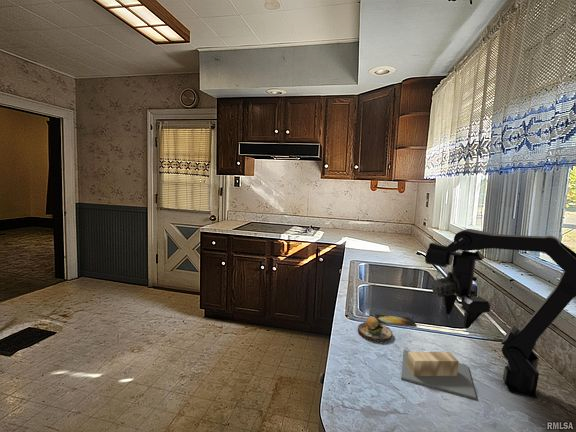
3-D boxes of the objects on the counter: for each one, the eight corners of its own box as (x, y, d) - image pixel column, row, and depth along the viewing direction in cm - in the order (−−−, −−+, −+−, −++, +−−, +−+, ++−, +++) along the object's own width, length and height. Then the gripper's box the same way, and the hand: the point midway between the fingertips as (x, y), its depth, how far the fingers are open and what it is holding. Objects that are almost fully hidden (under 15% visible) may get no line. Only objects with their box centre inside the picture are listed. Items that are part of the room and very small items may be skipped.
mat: (467, 366, 93) (467, 364, 93) (475, 399, 79) (476, 397, 79) (403, 351, 100) (403, 349, 100) (401, 379, 86) (401, 377, 86)
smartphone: (417, 326, 117) (376, 322, 118) (417, 328, 117) (376, 324, 118) (411, 317, 124) (373, 314, 125) (411, 319, 124) (373, 315, 125)
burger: (393, 345, 104) (395, 324, 103) (357, 340, 106) (359, 319, 105) (389, 328, 115) (391, 309, 114) (357, 324, 117) (358, 305, 116)
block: (449, 352, 91) (408, 351, 91) (458, 361, 87) (415, 360, 86) (447, 366, 92) (406, 365, 91) (456, 375, 88) (413, 375, 87)
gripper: (421, 261, 101) (416, 307, 103) (455, 281, 82) (448, 337, 84) (454, 262, 101) (448, 307, 104) (495, 282, 83) (487, 337, 85)
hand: (456, 320), depth 94 cm, fingers open, 9 cm apart
